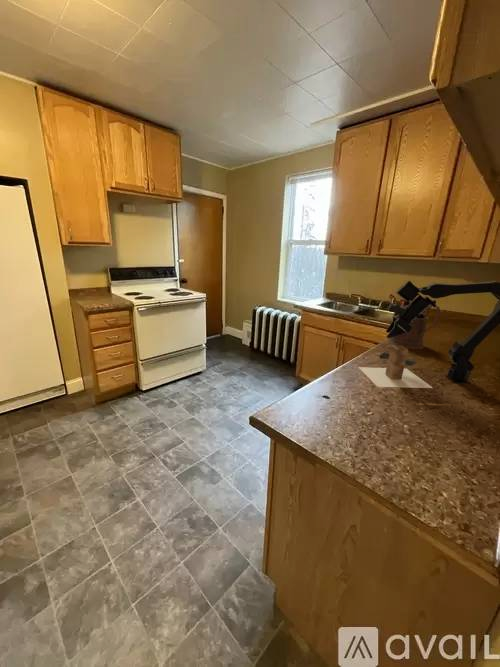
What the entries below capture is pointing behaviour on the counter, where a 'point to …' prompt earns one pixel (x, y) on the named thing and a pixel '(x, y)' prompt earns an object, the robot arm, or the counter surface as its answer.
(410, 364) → the phone
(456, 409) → the counter surface
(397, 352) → the walnut block
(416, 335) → the brown hollow rounded container
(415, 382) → the cutting board
